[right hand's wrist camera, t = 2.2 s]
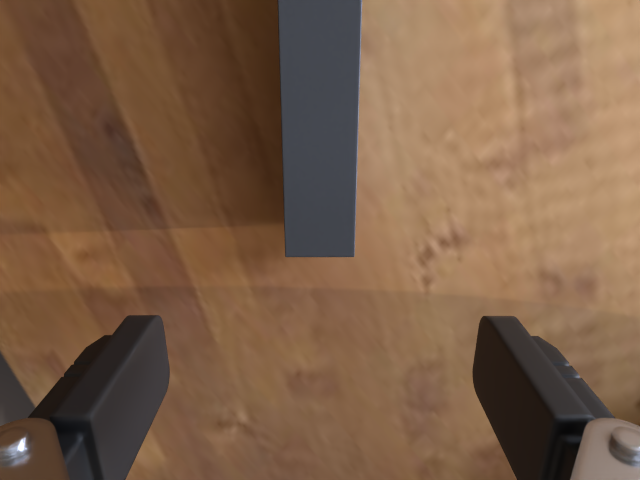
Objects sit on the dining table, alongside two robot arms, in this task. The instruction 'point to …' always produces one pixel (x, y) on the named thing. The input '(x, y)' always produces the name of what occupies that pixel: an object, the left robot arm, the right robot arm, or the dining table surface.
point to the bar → (319, 124)
